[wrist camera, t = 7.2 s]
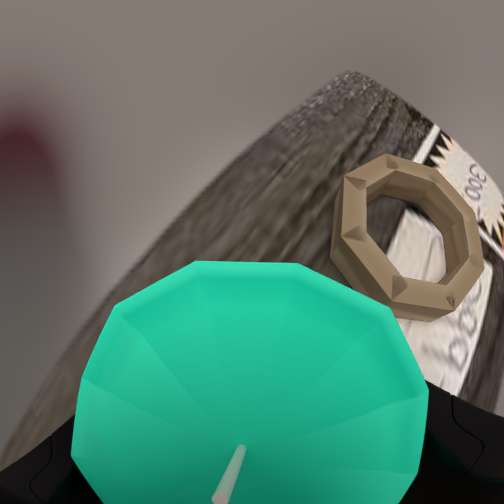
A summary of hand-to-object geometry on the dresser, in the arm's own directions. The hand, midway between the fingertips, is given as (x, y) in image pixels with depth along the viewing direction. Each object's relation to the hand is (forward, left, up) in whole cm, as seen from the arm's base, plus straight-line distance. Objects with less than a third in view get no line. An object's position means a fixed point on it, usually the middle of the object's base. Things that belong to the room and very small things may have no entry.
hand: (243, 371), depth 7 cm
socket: (+1, -14, -9) cm, 16 cm away
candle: (-1, 0, -7) cm, 7 cm away
